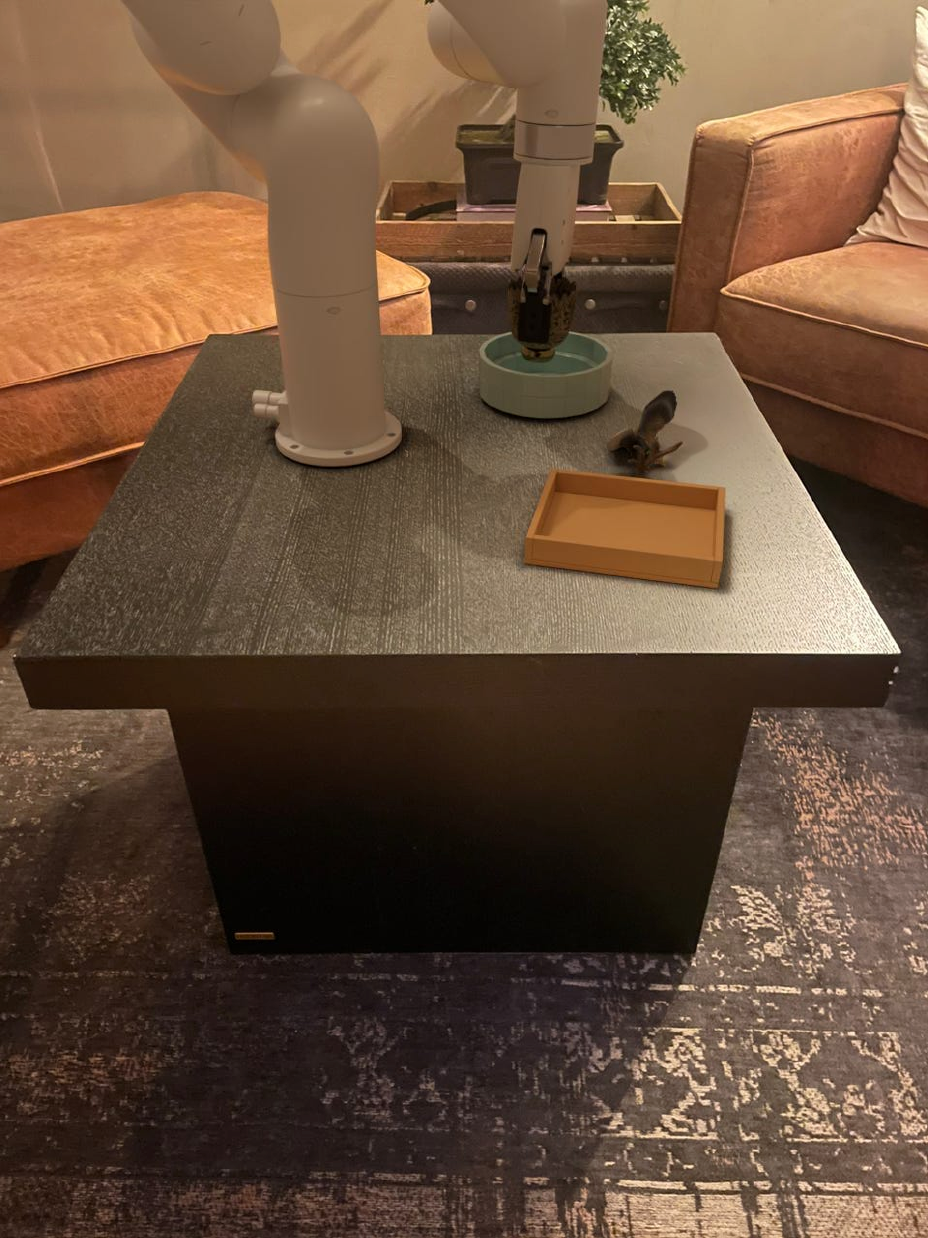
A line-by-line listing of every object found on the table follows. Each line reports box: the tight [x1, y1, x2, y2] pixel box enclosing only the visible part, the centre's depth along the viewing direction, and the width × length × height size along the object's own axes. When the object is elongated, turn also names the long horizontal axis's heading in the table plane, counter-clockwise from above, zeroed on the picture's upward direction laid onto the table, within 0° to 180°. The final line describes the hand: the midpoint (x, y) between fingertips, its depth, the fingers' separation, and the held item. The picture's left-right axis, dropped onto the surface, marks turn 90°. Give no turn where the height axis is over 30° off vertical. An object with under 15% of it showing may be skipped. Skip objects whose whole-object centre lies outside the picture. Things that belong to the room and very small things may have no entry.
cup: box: [506, 275, 581, 363], centre depth 96 cm, size 8×7×8 cm
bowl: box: [478, 330, 614, 419], centre depth 100 cm, size 14×14×5 cm
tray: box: [524, 467, 727, 589], centre depth 76 cm, size 15×12×2 cm
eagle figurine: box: [606, 389, 684, 478], centre depth 86 cm, size 8×7×9 cm
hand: (540, 328), depth 97 cm, fingers closed on cup, 7 cm apart
